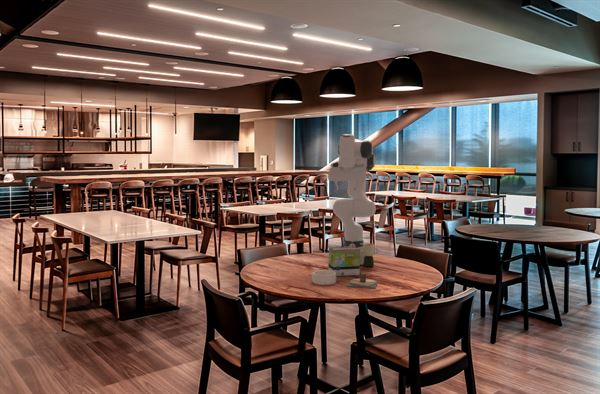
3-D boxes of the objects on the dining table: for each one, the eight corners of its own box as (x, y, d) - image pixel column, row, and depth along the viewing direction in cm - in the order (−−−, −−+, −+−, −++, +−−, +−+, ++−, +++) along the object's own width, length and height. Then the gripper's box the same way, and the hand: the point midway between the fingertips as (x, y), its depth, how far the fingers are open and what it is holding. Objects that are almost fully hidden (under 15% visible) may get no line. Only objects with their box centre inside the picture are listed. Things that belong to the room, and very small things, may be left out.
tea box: (334, 276, 275) (334, 249, 274) (328, 272, 285) (328, 246, 283) (360, 275, 279) (360, 248, 278) (353, 271, 289) (353, 245, 287)
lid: (351, 279, 267) (352, 270, 267) (376, 280, 264) (377, 271, 264) (348, 285, 255) (348, 275, 254) (374, 287, 251) (374, 277, 251)
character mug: (378, 265, 304) (378, 243, 303) (377, 268, 297) (378, 245, 296) (359, 264, 306) (360, 243, 305) (358, 267, 299) (359, 245, 298)
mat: (351, 280, 268) (351, 278, 268) (378, 281, 264) (378, 280, 264) (346, 286, 254) (347, 285, 254) (375, 288, 251) (375, 287, 251)
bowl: (315, 278, 271) (315, 269, 271) (337, 280, 269) (337, 270, 268) (310, 284, 260) (310, 274, 259) (333, 285, 257) (333, 275, 257)
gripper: (366, 164, 276) (366, 189, 277) (329, 164, 280) (329, 189, 281) (366, 164, 270) (365, 190, 271) (327, 164, 274) (327, 189, 275)
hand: (346, 189), depth 276 cm, fingers open, 8 cm apart
